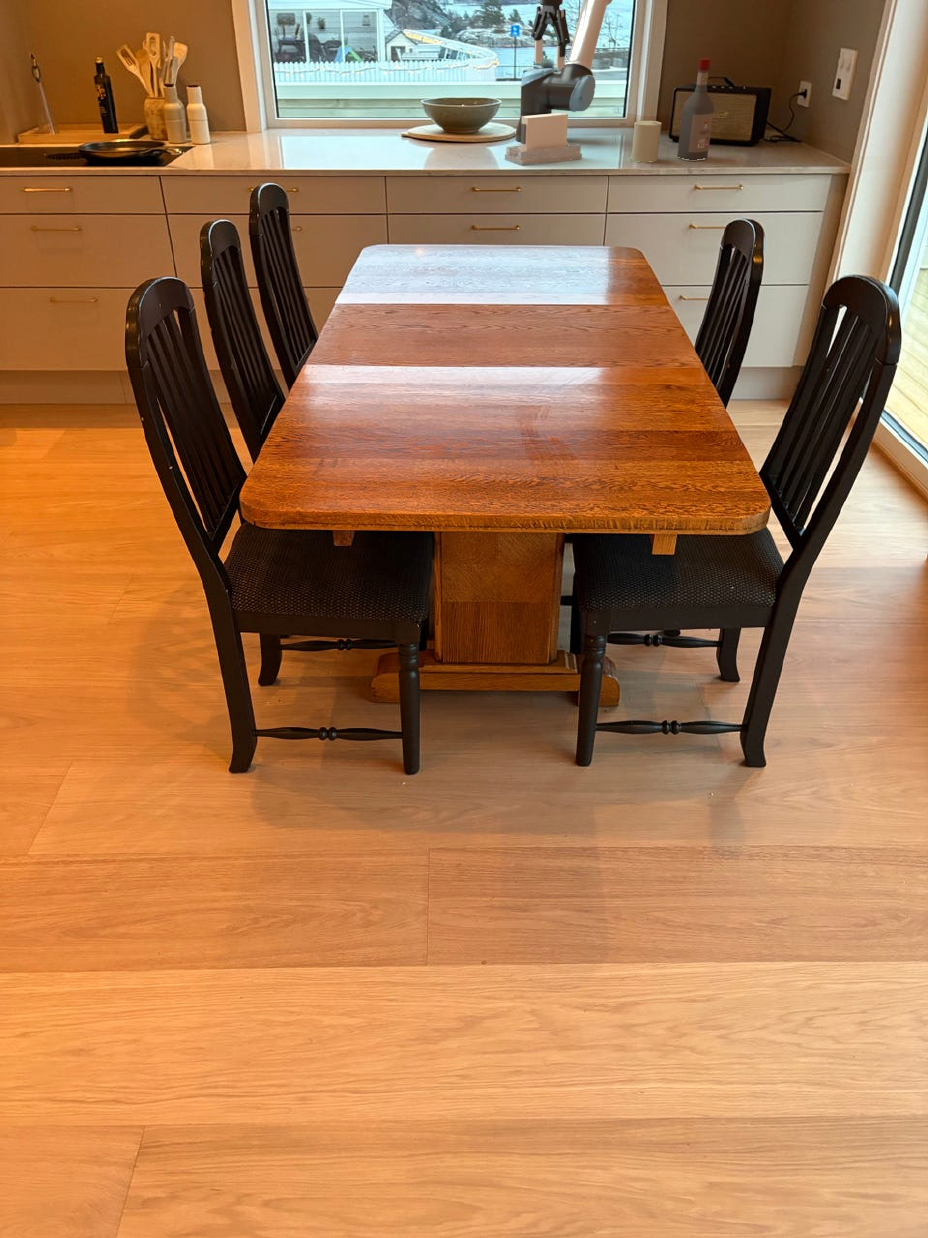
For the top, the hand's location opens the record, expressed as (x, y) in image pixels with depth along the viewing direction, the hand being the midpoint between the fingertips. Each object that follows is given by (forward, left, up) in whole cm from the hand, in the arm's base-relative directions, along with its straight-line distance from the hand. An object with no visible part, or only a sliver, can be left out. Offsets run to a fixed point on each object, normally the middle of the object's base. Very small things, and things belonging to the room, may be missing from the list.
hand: (549, 65), depth 319 cm
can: (-24, +26, -27) cm, 45 cm away
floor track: (+6, +8, -27) cm, 29 cm away
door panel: (+6, +8, -26) cm, 28 cm away
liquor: (-40, +32, -27) cm, 58 cm away
